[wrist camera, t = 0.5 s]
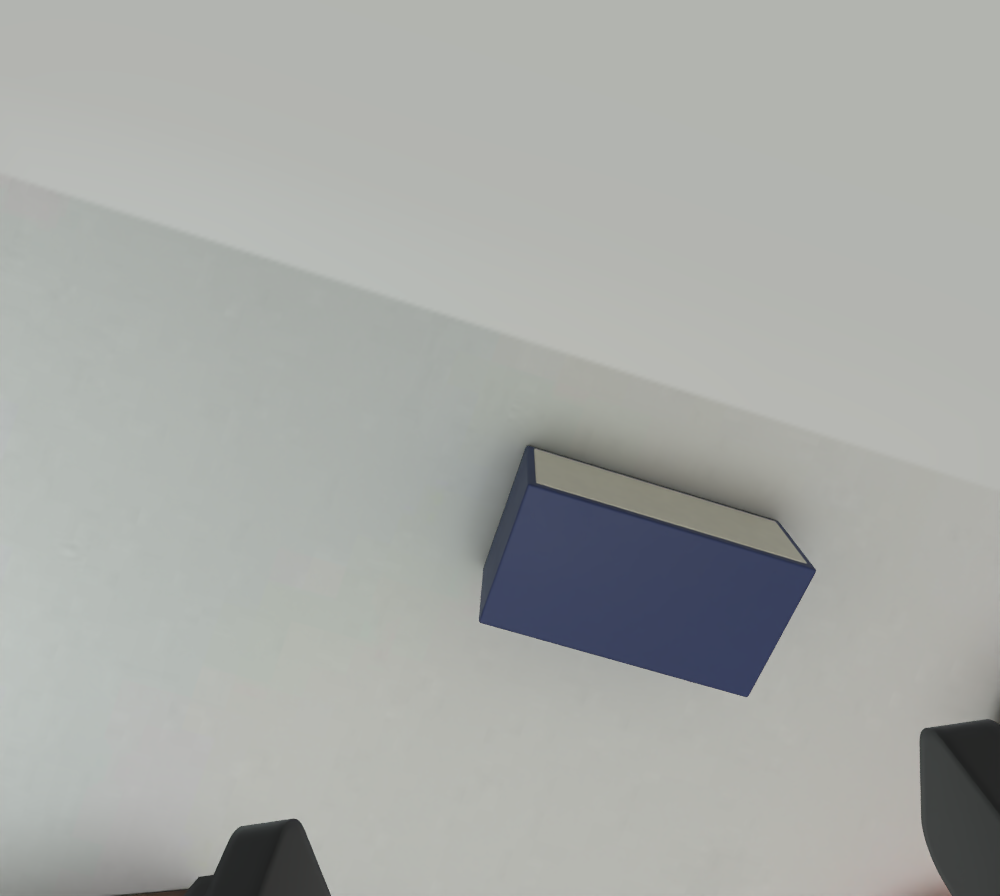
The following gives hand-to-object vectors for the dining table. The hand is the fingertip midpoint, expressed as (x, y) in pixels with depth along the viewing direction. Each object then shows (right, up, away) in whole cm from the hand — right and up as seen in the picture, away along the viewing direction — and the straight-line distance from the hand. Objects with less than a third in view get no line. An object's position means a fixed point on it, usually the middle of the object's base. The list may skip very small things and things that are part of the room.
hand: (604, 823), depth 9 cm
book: (+4, +1, +21) cm, 21 cm away
